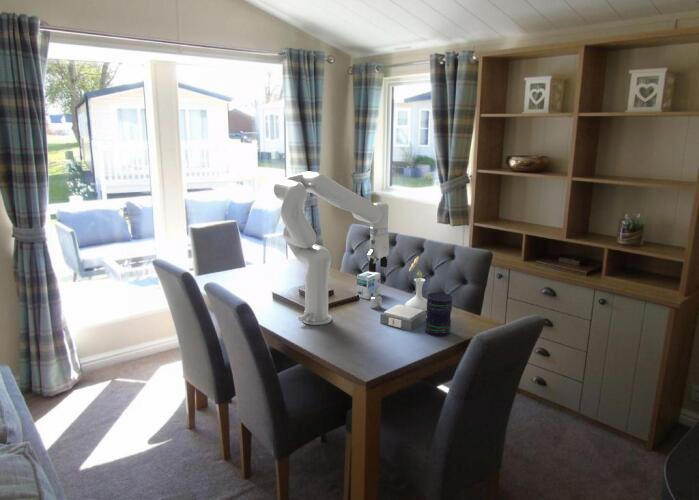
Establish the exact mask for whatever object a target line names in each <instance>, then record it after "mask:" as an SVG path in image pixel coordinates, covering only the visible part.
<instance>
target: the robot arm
mask: <svg viewBox="0 0 699 500" xmlns="http://www.w3.org/2000/svg"><path fill="white" fill-rule="evenodd" d="M307 193H310V194H313V195H315V196H317V197H319V198H320V199H323V200H324V201H326V202H327V203H329V204H331V205H332V206H334V207H335V208H338V209H340V210H343V211H347V212H348V213H349V212H350V213H351V214H352V216H353V218H354V219H356V220H358V221H361V222H364V223H368V224H370V227H369V228H370V232H369V235H370V238H369V245H368V247H369V248H368V253H367V254H366V257H367V262H368V271H369V272H376V271H377V263H376V262H377V259H379V260H380V264H379V265H380V267H382V268H387V267H388V258H389V254H390V241H389V238H390V237H389V232H388V231H389V204H388V203H387V202H384V201H383V202H382V201H377V202H371V201H370V200H369V199H367V198H365V197H363V196H361V195H360V194H357V193H355V192H354V191H352V190H350V189H348V188H346V187H345V186H344V185H341V184H340V183H338V182H337V181H335V180H333V179H332V178H330V177H329V176H327V175H325V174H324V173H321V172H317V171H311V170H310V171H304V172H301V173H297V174H293V175H290V176H287V177H286V176H285V177H283V178H281V179H279V180H277V181H276V182H275V184H274V186H273V194H274V195H275V197H276V198H277V199H279V200H280V201H282V203H281V209H280V216H281V219H282V220H281V221H282V222H283V224H284V228H283V232H282V233H283V238H284V240H285V243H286V244H287V246H288V248H289V249H290V251H291V252H292V253H293V255H294V257H295V258H296V260H298V262H299V263H301V264H303V265H305V266H307V270H306V273H305V277H304V278H305V279H304V282H305V283H304V285H305V286H304V311H303V314H302V315H300V316H298V321H299V322H301V323H304V324H306V325H311V326H322V325H323V326H324V325H326V324H329V323H330V322H332V320H333V317H332V316H331V315H330V314H329V285H330V284H329V282H330V281H329V278H330V277H329V275H330V268H331V263H332V255H331V253H330V251H329V249H327V248H326V247H325V246H323V245H320V244H317V243H316V242H317V234H316V232H315V230H314V228H313V227H312V225H311V224H310V221H309V220H308V219H307V217H306V215H305V213H304V210H303V206H304V202H305V200H306V197H307Z"/></svg>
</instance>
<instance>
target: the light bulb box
mask: <svg viewBox="0 0 699 500" xmlns="http://www.w3.org/2000/svg"><path fill="white" fill-rule="evenodd" d="M356 276H357V277H356V296H357V295H359V297H358V298H361V299H364V300H365V299H366V300H369V299H371V296H380V294H381V291H380V290H381V272H369V270H367V271H365V272H362V273H358V274H357V275H356Z"/></svg>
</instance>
